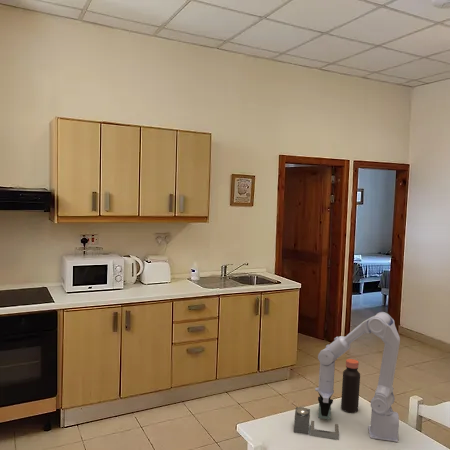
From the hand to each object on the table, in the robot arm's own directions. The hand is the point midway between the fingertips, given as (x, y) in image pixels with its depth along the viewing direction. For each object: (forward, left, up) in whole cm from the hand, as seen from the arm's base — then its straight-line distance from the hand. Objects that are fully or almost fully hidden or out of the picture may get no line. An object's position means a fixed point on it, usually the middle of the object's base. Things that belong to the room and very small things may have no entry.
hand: (324, 412), depth 175 cm
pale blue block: (0, 0, -1) cm, 1 cm away
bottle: (-10, -9, -2) cm, 14 cm away
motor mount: (+3, +12, -1) cm, 13 cm away
